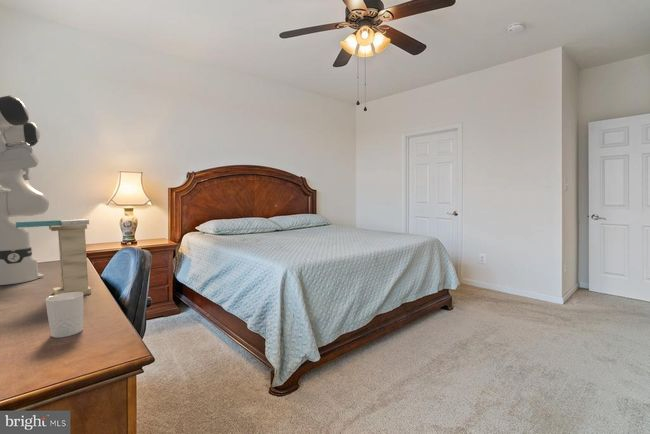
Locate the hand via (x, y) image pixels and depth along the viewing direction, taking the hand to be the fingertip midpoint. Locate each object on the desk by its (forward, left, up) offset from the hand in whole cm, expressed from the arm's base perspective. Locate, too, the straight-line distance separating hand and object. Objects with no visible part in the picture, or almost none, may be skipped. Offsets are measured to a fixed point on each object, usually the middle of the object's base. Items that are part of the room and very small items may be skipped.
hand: (11, 182), depth 118 cm
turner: (+10, +10, -16) cm, 21 cm away
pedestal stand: (+10, +14, -42) cm, 45 cm away
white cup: (+54, +8, -42) cm, 69 cm away
